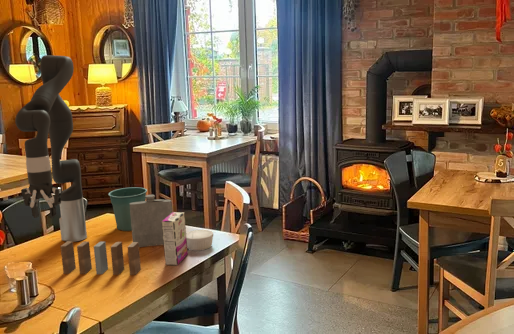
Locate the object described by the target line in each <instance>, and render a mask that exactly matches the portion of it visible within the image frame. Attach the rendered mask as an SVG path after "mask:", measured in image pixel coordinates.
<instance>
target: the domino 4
mask: <svg viewBox="0 0 514 334" xmlns="http://www.w3.org/2000/svg"><path fill="white" fill-rule="evenodd" d="M123 249H124V248H123V241H116V242H114V243H113V244H112V245H111V246H110V254H111V255H110V257H111V266H112V267H111V268H112V275H114V276H119V275H121V273H122V272H124V270H125V262H124V261H125V260H124V251H123Z"/></svg>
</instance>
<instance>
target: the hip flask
mask: <svg viewBox="0 0 514 334" xmlns="http://www.w3.org/2000/svg"><path fill="white" fill-rule="evenodd" d="M155 197H156V196H155V194H146V196H145V198H146V200H145V201H141V202H133V203H130V215H131V227H132V231H131V237H132V242H139V248H144V247H154V246H164V241H163V231H162V221H163V220H164V219H165V218H166V217H168V216H169V215H170V214H171V213H172V212H173V207H172V200H171V199H163V198H162V199H155Z"/></svg>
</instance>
